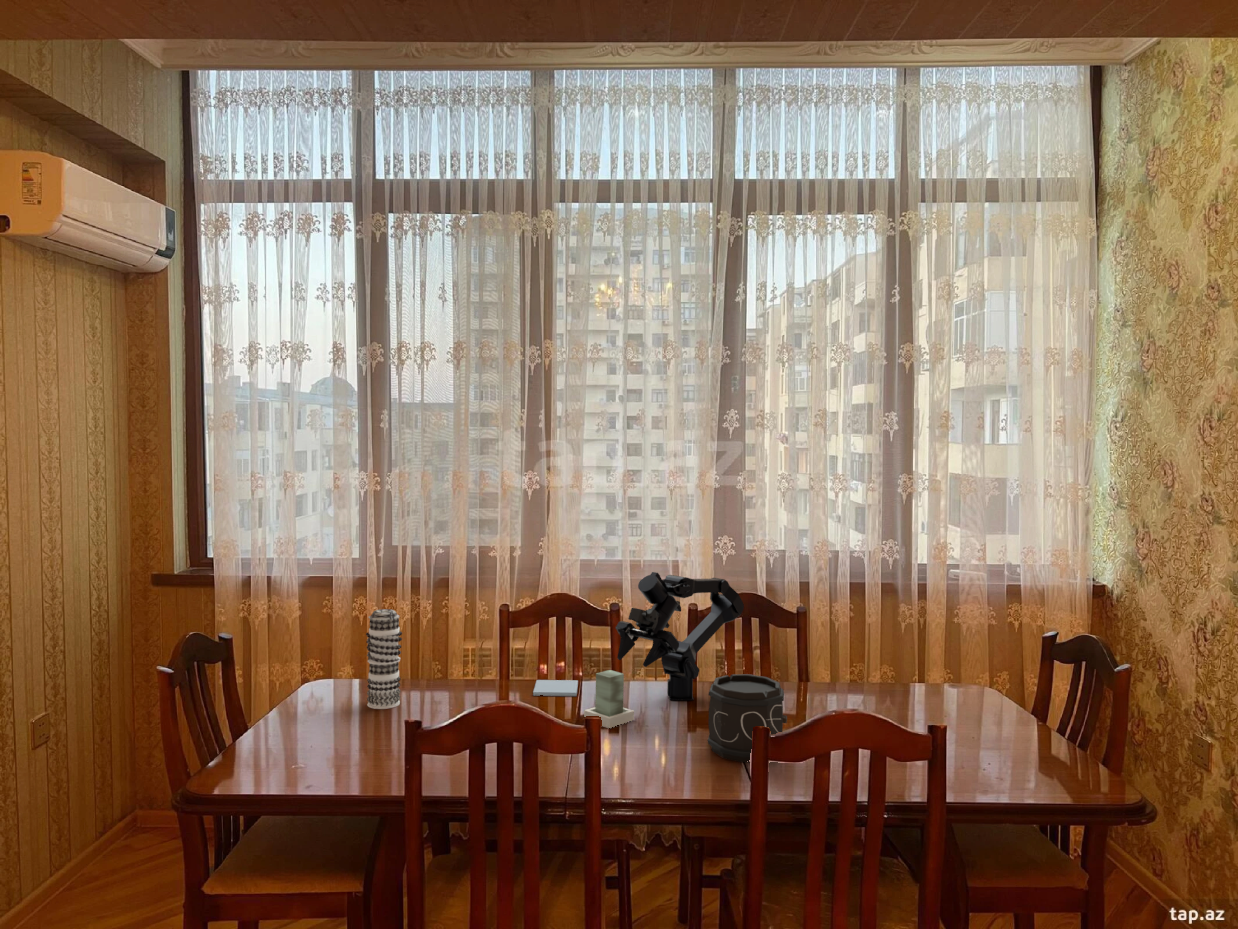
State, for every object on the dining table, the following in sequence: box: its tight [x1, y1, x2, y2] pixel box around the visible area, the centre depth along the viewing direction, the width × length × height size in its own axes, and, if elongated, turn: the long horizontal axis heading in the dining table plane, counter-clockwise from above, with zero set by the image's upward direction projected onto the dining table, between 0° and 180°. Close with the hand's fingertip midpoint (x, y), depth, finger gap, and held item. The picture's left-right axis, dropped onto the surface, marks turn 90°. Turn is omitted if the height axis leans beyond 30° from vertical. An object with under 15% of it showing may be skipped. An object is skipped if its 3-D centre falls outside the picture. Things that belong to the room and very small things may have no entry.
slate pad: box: [532, 679, 579, 697], centre depth 247 cm, size 12×12×1 cm
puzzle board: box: [583, 706, 635, 729], centre depth 221 cm, size 9×9×2 cm
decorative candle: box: [365, 608, 403, 710], centre depth 231 cm, size 9×9×25 cm
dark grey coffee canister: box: [707, 673, 788, 763], centre depth 201 cm, size 18×18×16 cm
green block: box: [594, 669, 625, 717], centre depth 221 cm, size 5×5×12 cm
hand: (631, 662), depth 226 cm, fingers open, 9 cm apart
